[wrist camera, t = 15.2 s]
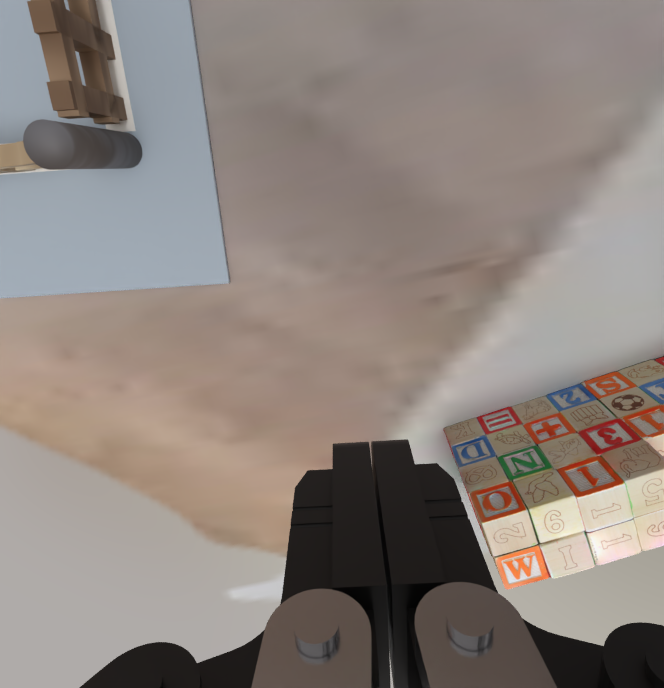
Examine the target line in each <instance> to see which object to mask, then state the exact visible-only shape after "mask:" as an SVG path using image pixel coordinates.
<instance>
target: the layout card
mask: <svg viewBox="0 0 664 688" xmlns="http://www.w3.org/2000/svg"><path fill="white" fill-rule="evenodd" d="M27 1H31V0H0V145H1V144H9V143H16V142H19V141H23V136H24V132H25V129H26V128H27V126H28V125H29V124H30V123H32V122H33V121H36V120H40V119H44V120H51V121H57V122H64V123H70V124H76V125H83V126H89V127H95V128H102V129H108V130H115V131H121V132H127V133H130V134H132V135H133V136H135V137H136V138H137V140H138V141H139V142H140V144H141V147H142V159H141V161H140V162H139V164H138V165H137V166H135V167H133V168H125V169H65V170H49V169H44V168H42V169H36V170H33V171H25V172H15V173H0V298H11V297H27V296H42V295H57V294H73V293H88V292H104V291H119V290H134V289H150V288H165V287H180V286H196V285H211V284H226V283H230V277H229V270H228V263H227V256H226V249H225V242H224V235H223V228H222V221H221V214H220V207H219V200H218V193H217V186H216V178H215V171H214V164H213V157H212V150H211V143H210V136H209V129H208V122H207V115H206V108H205V101H204V94H203V87H202V80H201V73H200V66H199V59H198V52H197V45H196V38H195V31H194V23H193V16H192V9H191V2H190V0H96V5H97V10H98V15H99V20H100V25H101V30H103V31H105V32H106V33H108V34H110V35H111V37H112V42H113V48H114V53H115V58H116V60H107V61H108V66H109V71H110V76H111V81H112V86H113V91H114V95H116V96H119V97H122V98H123V99H124V104H125V109H126V115H127V120H126V121H120V123H119V124H105V125H101V124H95V123H94V121H93V118H76V119H66V118H61V117H58V113H57V111H53V108H52V104H51V99H50V95H49V91H48V87H47V83H46V82H50V80H49V75H48V71H47V67H46V63H45V59H44V54H43V50H42V46H41V42H40V38H39V35H38V34H36V33H34V29H33V25H32V20H31V16H30V12H29V8H28V4H27ZM64 2H65V7H66V9H67V10H69V5H68V1H67V0H64ZM69 11H70V10H69ZM75 53H76V58H77V62H78V67H79V71H80V76H81V80H82V85H84V86H86V84H85V79H84V75H83V70H82V66H81V61H80V56H79V52H77V51H75Z"/></svg>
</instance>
